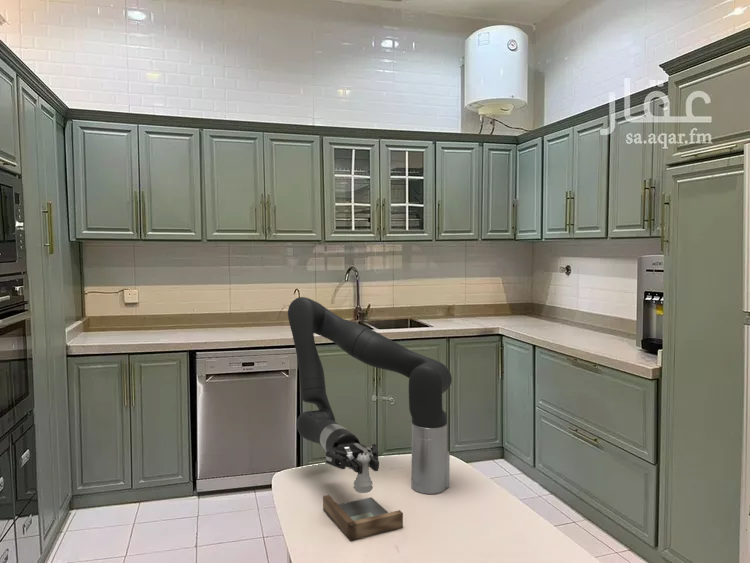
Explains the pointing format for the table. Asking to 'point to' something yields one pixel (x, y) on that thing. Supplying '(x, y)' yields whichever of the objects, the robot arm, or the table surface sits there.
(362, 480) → the rook chess piece
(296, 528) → the table surface
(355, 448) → the robot arm
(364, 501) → the corner arena
